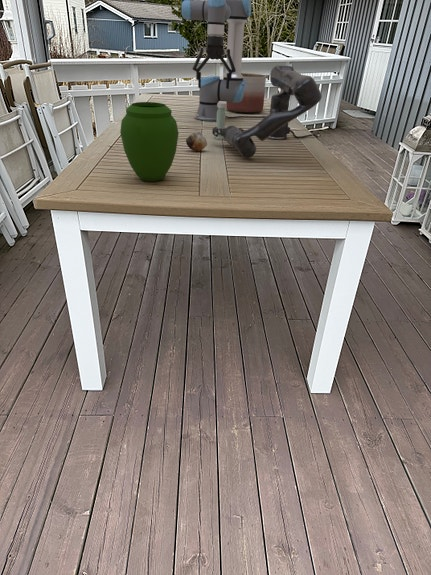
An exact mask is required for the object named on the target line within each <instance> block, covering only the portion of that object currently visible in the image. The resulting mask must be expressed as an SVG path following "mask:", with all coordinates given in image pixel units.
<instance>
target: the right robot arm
mask: <svg viewBox="0 0 431 575" xmlns="http://www.w3.org/2000/svg"><path fill="white" fill-rule="evenodd" d="M269 80H270V84H271V85H272V86H273V87H276V88H279V89H280V90H281V91H279V92H277V93H274V94H272V95H271V97H270V98H271V99H270V106H269V107H270V108H269V114H268V115H266V116H267V117H265V118H262V119H261V120H260V121H258V122H257V124H255V125H254V126H252V127H250V128H247V129H245V130H244V129H243V128H242V127H236V126H235V125H229V126H227V127H225V128H217V127H216V126H215V127H213V128H212V131H211V135H213V136H214V137H215V138H216V137H218V135H219V136H223V137H224V139H223V140H224V141H225V142H226V143H227V144H228V145H230V146H232V147H233V148H235V150H236V151H237V152H238V153H239V154H240V156H241V157H243V158H245V159H250V158H252V157H253V156H254V155H255V154H256V153H257V145H256V144H255V142H254V141H253V139H252V137H256V138H257V139H258V140H259V141H261V142H264V141H265V140H267V139H271V140H287V137H288V135H289V134H290V133H291V134H292V136H293V137H294V138H295V139H304V138H309V137H315V138H316V139H319V136H318V135H317V134H315V133H314V134H307V135H301V136H300V135H298V136H297V135H296V134H295V133H294V131H293V130H291V127H290V126H289V123H290V122H291V121H293V120H295V119H297V118H298V117H300V116H301V115H303V114H305V113H306V112H308V111H309V110H311V109H312V108H314V107H315V106H317V104H318V103H320V101H321V100H322V98H323V94H322V92H321V90H320V88H319V86H318V84H317V82H316V80H315V78H313V77H312V76H311V75H307V74H306V75H305V74H301V73H300V72H297V71H295V69H294V66H292V65H282V64H281V65H280V64H279V65H274V66H272V68H271V70H270V74H269ZM292 96H294V97H295V99H296V101H297V103H298V105H297V106H296V107H295V108H292V109H290V101H291V97H292ZM218 130H219V132H218ZM312 135H313V136H312Z"/></svg>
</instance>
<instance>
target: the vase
mask: <svg viewBox="0 0 431 575" xmlns="http://www.w3.org/2000/svg"><path fill="white" fill-rule="evenodd" d="M125 113H126V114H125V115H124V117H122V119H121V122H120V123H121V124H120V130H119V133H120V138H121V142H122V147H123V150H124V154H125V155H126V158H127V160H128V163H129V165H130V167H131V168H132V170H133V172H134V173H135V175H136V176H137V177H138V178H139V179H141V180H143V181H145V182H159V181H161V180H163V179H164V178H165V176H166V175H167V174H168V173H169V170H170V169H171V167H172V165H173V162H174V159H175V157H176V156H175V155H176V153H177V147H178V140H179V129H178V122H177V120H176V119H175V117H174V116H173V115H172V109H171V108H170V107H169V106H167V105H166V104H164V103H162V102H155V101H138V102H132V103H131V104H130V105H128V107H127V108H125Z"/></svg>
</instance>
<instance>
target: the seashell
mask: <svg viewBox="0 0 431 575" xmlns="http://www.w3.org/2000/svg"><path fill="white" fill-rule="evenodd" d="M185 143H186V146H187V147H188V148H189V149H190V150H192V151H194V152H197V151H198V152H199V151H201V150H204V149H205V148H206V147H207V146H208V141H207V138H206V137H205V136H204V135H203V134H202V132H201V131H197V132H195V133H192V134H190V135H189V136H188V137H187V138H186V139H185Z"/></svg>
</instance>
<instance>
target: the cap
mask: <svg viewBox="0 0 431 575" xmlns="http://www.w3.org/2000/svg"><path fill="white" fill-rule="evenodd" d="M217 107H218V108H224V109H226V102H223V101H219V103H218V104H217Z"/></svg>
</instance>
